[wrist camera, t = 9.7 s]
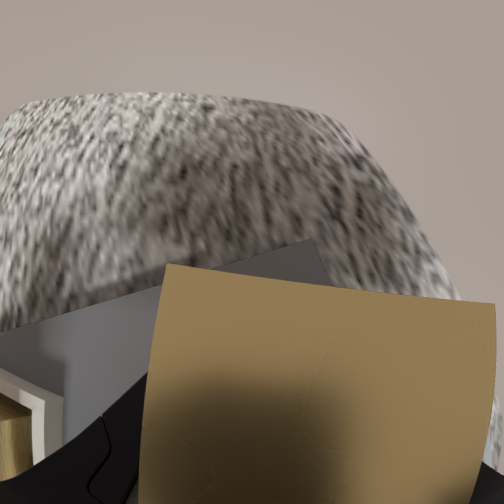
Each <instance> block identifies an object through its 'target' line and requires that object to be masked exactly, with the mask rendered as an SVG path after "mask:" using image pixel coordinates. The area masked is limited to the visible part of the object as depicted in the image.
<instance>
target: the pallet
mask: <svg viewBox="0 0 504 504" xmlns="http://www.w3.org/2000/svg"><path fill="white" fill-rule="evenodd" d="M210 270H215V271H222V272H228V273H235V274H242V275H249V276H256V277H263V278H270V279H278V280H285V281H292V282H300V283H307V284H315V285H323V286H331V287H332V285H331V283H330V280H329V278H328V276H327V273H326V271H325V269H324V266H323V264H322V262H321V259H320V257H319V255H318V252H317V250H316V248H315V246H314V243H313V241H312V239H308V240H305V241H301V242H298V243H295V244H292V245H289V246H285V247H282V248H279V249H276V250H272V251H269V252H266V253H263V254H259V255H256V256H253V257H250V258H246V259H243V260H240V261H237V262H233V263H230V264H227V265H223V266H220V267H217V268H214V269H210ZM162 285H163V284H161V285H158V286H154V287H151V288H148V289H145V290H141V291H138V292H135V293H131V294H128V295H125V296H121V297H118V298H115V299H111V300H108V301H105V302H101V303H98V304H95V305H91V306H88V307H85V308H81V309H78V310H75V311H71V312H68V313H65V314H61V315H58V316H55V317H51V318H48V319H44V320H41V321H38V322H34V323H31V324H28V325H24V326H21V327H17V328H14V329H11V330H7V331H4V332H0V392H1V393H2V394H4V395H6V396H8V397H9V398H11V399H13V400H15V401H16V402H18V403H20V404H22V405H24V406H26V407H28V408H30V409H32V449H33V464H34V465H35V464H37V463H38V462H40V461H41V460H43V459H44V458H46V457H48V456H49V455H51V454H52V453H54V452H55V451H57V450H58V449H60V448H61V447H62V446H64V445H65V444H67V443H68V442H69V441H71V440H72V439H73V438H75V437H76V436H77V435H78V434H80V433H81V432H82V431H83V430H84V429H85V428H87V427H88V426H89V425H90V424H91V423H92V422H93V421H94V420H96V419H97V418H98V417H99V416H102V413H103V412H104V411H106V410H107V409H108V408H109V407H110V406H111V405H112V404H113V403H114V402H115V401H116V400H117V399H119V398H120V397H121V396H122V395H123V394H124V393H125V392H126V391H127V390H128V389H129V388H130V387H131V386H133V385H134V384H135V383H136V382H137V381H138V380H139V379H140V378H141V377H142V376H143V375H144V374H145V373H146V372H148V368H149V361H150V354H151V347H152V341H153V334H154V328H155V322H156V317H157V311H158V306H159V300H160V295H161V290H162Z"/></svg>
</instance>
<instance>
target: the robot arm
mask: <svg viewBox="0 0 504 504" xmlns="http://www.w3.org/2000/svg"><path fill="white" fill-rule="evenodd" d="M147 376H148V372H146V373H145V374H144V375H143V376H142V377H141V378H140V379H139V380H138V381H137V382H136V383H135V384H134V385H133V386H131V387H130V388H129V389H128V390H127V391H126V392H125V393H124V394H123V395H122V396H121V397H120V398H119V399H117V400H116V401H115V402H114V403H113V404H112V405H111V406H110V407H109V408H108V409H107V410H106V411H104V412H103V413H102V416H99V417H98V418H97V419H96V420H94V421H93V422H92V423H91V424H90V425H89V426H88V427H87V428H85V429H84V430H83V431H82V432H81V433H80V434H78V435H77V436H76V437H75V438H73V439H72V440H71V441H69V442H68V443H67V444H65V445H64V446H62V447H61V448H60V449H58V450H57V451H55V452H54V453H52V454H51V455H49V456H48V457H46V458H44V459H43V460H41V461H40V462H38V463H37V464H35V465H34V466H32V467H30V468H29V469H27V470H26V471H24V472H22V473H21V474H19V475H17V476H15V477H13V478H10V479H7V480H3V481H0V504H138V488H139V462H140V446H141V432H142V421H143V410H144V401H145V392H146V383H147ZM469 504H504V475H501V474H500V473H498V472H497V471H495V470H494V469H493V468H491V467H490V466H488V465H487V464H486V463H484V462H483V461H482V463H481V467H480V470H479V474H478V477H477V481H476V484H475V487H474V490H473V493H472V496H471V499H470V502H469Z"/></svg>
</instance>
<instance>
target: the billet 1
mask: <svg viewBox="0 0 504 504" xmlns="http://www.w3.org/2000/svg"><path fill="white" fill-rule="evenodd" d="M32 466H34V464H33V449H32V409H30V408H28V407H26V406H24V405H22V404H20V403H18V402H16V401H15V400H13V399H11V398H9V397H8V396H6V395H4V394H2V393H1V392H0V481H3V480H7V479H10V478H13V477H15V476H17V475H19V474H21V473H22V472H24V471H26V470H27V469H29V468H30V467H32Z"/></svg>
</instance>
